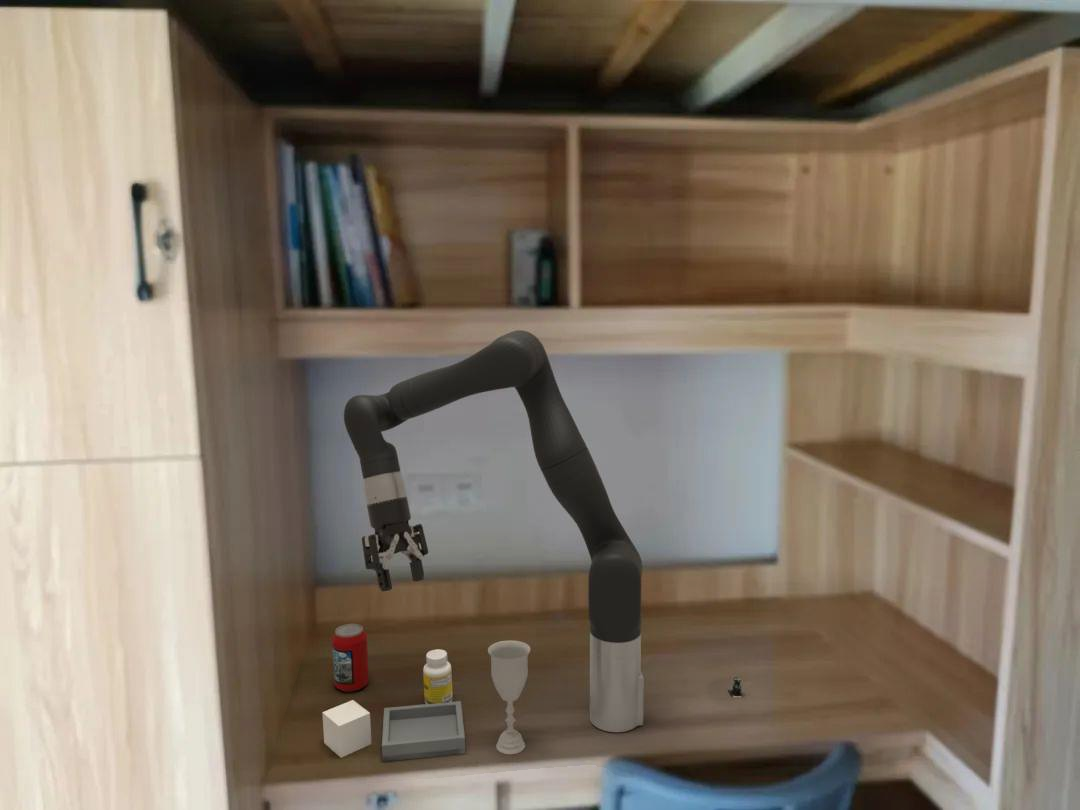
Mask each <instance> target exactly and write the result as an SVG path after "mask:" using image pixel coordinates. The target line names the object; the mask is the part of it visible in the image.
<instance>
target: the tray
mask: <svg viewBox="0 0 1080 810" xmlns="http://www.w3.org/2000/svg"><path fill="white" fill-rule="evenodd" d="M462 710H463V709H462V701H461V700H458V701H451V702H445V703H434V704H426V703H424V704H423V703H422V704H415V705H403V706H402V705H401V706H392V707H383V723H382V736H381V737H382V738H381V740H382V741H381V756H382V757H381V759H382V763H385V762H395V761H404V760H405V761H406V760H415V759H416V760H417V759H424V758H425V759H426V758H434V757H435V758H436V757H445V756H455V755H456V756H457V755H464V754H466V737H465V735H466V734H465V727H464V718H463V711H462Z"/></svg>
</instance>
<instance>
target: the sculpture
mask: <svg viewBox="0 0 1080 810" xmlns="http://www.w3.org/2000/svg"><path fill="white" fill-rule="evenodd" d="M733 681H734V683H733V685H732V689H727V693H728V694H729V696H730V697H731V698H744V697H745V695H744V693H743V690H742V689H743V688H742V687H743V686H742V685H741V681H742V679H741V678H740V677H739V676H735V677H734V678H733Z"/></svg>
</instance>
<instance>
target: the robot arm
mask: <svg viewBox="0 0 1080 810" xmlns="http://www.w3.org/2000/svg"><path fill="white" fill-rule="evenodd" d="M510 388H515V390H516V392H517V394H518V396H519V397H520V400H521V401H522V403H523V406H524V408H525V411H526V414H527V418H528V423H529V427H530V434H531V435H530V436H531V441H532V446H533V452H534V455H535V458H536V459H535V460H536V462H537V464H538V467H539V469H540V471H541V472H542V475H543V477H544V479H545V482H546V483H547V485H548V488H549V490H550V491H551V493H552V495H553V496H554V498H555V499H556V500H557V502H558V503H559V504H560V505H561V507H562V508H563V509H564V510H565V511H566V513H567V514H568V515H569V516H570V517H571V519H572V520H573V521H574V523H575V524H576V525H577V528H578V529H579V531H580V534H581V536H582V539H583V540H584V543H585V546H586V549H587V551H588V554H589V557H590V561H591V564H590V568H589V569H588V570H589V572H588V582H587V583H588V585H587V587H588V589H587V590H588V591H587V592H588V619H589V720H590V722H591V724H592V725H594V727H595V728H597V729H599V730H602V731H604V732H610V733H625V732H629V731H631V730H633V729H635V728H637V727H638V726H639V727H640V726H644V698H645V696H644V695H645V694H644V691H645V690H644V689H645V687H644V685H645V683H644V681H645V680H644V675H643V673H642V671H641V665H642V664H641V661H642V659H641V658H642V656H641V655H642V654H641V653H642V652H641V649H642V643H641V642H642V613H641V611H642V576H643V575H642V574H643V562H642V559H641V558H642V557H641V555H640V553H639V552H638V550H637V548H636V546H635V545H634V543H633V542H632V540H631V538H630V537H629V535H628V532H627V531H626V530H625V529H624V527H623V525H622V523H621V521H620V519H619V518H618V516H617V514H616V512H615V510H614V509H613V506H612V503H611V500H610V498H609V495H608V493H607V489H606V487H605V484H604V483H603V480H602V477H601V475H600V472H599V470H598V468H597V465H596V463H595V461H594V458H593V456H592V455H591V452H590V450H589V447H588V446H587V444H586V441H585V440H584V439H583V436H582V435H581V432H580V430H579V428H578V425H577V424H576V422H575V420H574V418H573V415H572V414H571V411H570V410H569V408H568V406H567V404H566V402H565V400H564V397H563V396H562V395H563V394H562V393H561V391H560V389H559V386H558V383H557V380H556V377H555V375H554V372H553V369H552V366H551V363H550V360H549V357H548V354H547V352H546V349H545V347H544V345H543V343H542V342H541V341H540V339H539V338H538V337H537V336H536V335H534V334H533V333H531V332H530V331H526V330H521V329H519V330H514V331H510V332H508V333H505V334H503V335H501V336H499V337H497V338H496V339H495V340H494V341H492V342H491V343H490V344H488V345H487V346H485V347H483V348H482V349H480V350H479V351H477V352H476V353H474V354H472V355H470V356H469V357H467V358H464V359H463V360H460V361H459V362H456V363H454V364H451V365H448V366H445V367H440V368H438V369H434V370H430V371H427V372H423V373H421V374H417V375H415V376H413V377H410V378H408V379H405V380H403V381H400V382H398V383H395V384H394V385H392V387H391V388H390V390H389V391H387V392H385V393H382V394H379V395H378V394H377V395H373V394H372V395H370V394H369V395H367V394H358V395H355V396H354V395H353V396H352V397H350V398H349V400H348V401H347V402H346V403H345V406H344V411H343V421H344V426H345V429H346V431H347V434H348V436H349V438H350V441H351V444H352V445H353V447H354V450H355V451H356V454H357V456H358V457H359V465H360V469H361V475H362V479H363V491H364V499H365V502H366V507H367V514H368V518H369V524H370V527H371V528H372V529H373V530H374V533H373V534H368V535H363V536H362V537H361V542H362V543H361V544H362V550H363V551H362V552H363V558H364V565H365V569H367V570H373V571H375V574H376V579H377V582H378V587H379V589H380V590H381V591H382V592H388V591H391V590H393V585H392V579H391V575H390V570H389V569H390V568H389V564H390V560H391V559H392V558H394V555H395V554H399V553H401V554H402V555H404V556H406V558H407V559H408V560H409V561H410V562H409V568H410V573H411V577H412V578H411V579H412V581H413V582H421V581H423V580H424V579H425V578H424V577H425V572H424V567H423V562H422V560H423V557H425V555H429V548H428V544H427V540H426V537H425V532H424V527H423V525H422V524H421V523H418V524H413V525H410V524H409V521H410V520H411V517H412V515H411V511H410V504H409V500H408V495H407V491H406V490H407V489H406V485H405V482H404V478H403V475H402V472H401V467H400V462H399V456H398V452H397V448H396V447H395V446H394V444H392V443H390V442H389V441H387V440H385V438H384V435H383V433H382V432H386V431H388V430H392V429H394V428H396V427H397V426H400V425H401V424H403V423H405V422H406V421H408V420H410V419H413V418H417V417H419V416H422V415H425V414H428V413H430V412H433V411H435V410H438V409H440V408H443V407H445V406H447V405H450V404H451V403H452V404H453V403H454V402H457V401H459V400H461V399H464V398H467V397H470V396H474V395H477V394H481V393H485V392H486V393H487V392H491V391H497V390H504V389H510ZM388 568H389V569H388Z"/></svg>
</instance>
